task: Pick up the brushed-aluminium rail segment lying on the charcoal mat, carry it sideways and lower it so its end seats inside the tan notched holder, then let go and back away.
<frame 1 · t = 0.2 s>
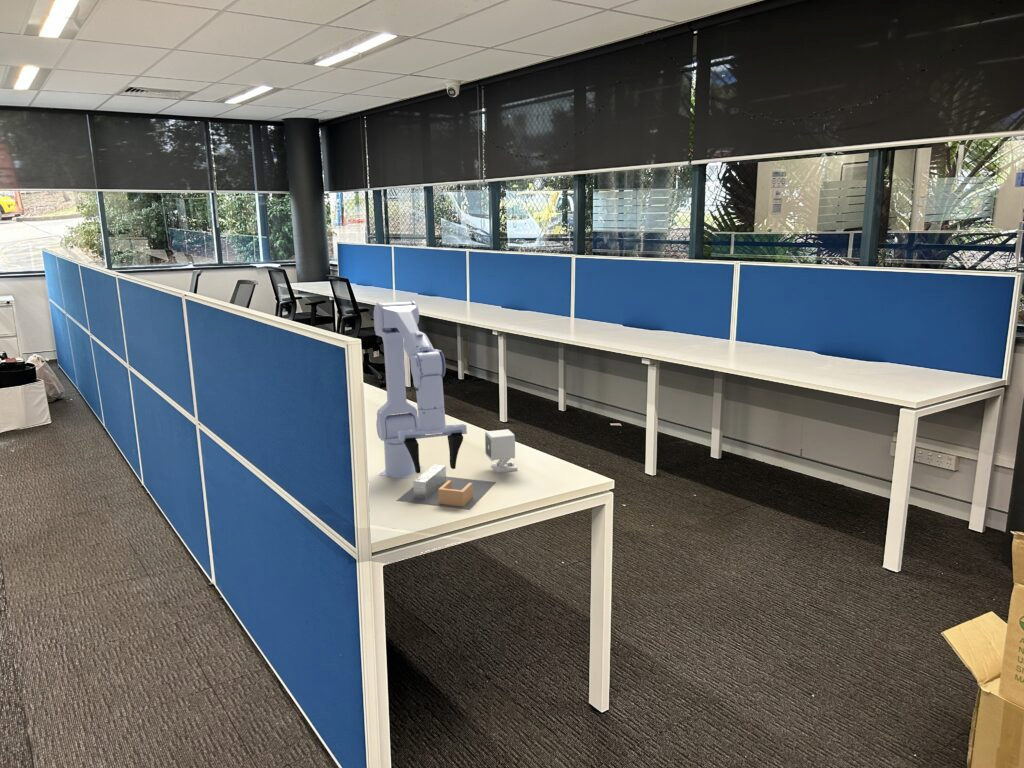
hand: (435, 470, 159), 11 cm above the table, tool pointing down, fingers open, 7 cm apart
tan notched holder: (463, 492, 174), resting on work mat
aluminium rail: (430, 488, 176), resting on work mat
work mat: (448, 493, 175), on the table
security camera: (501, 470, 191), on the table
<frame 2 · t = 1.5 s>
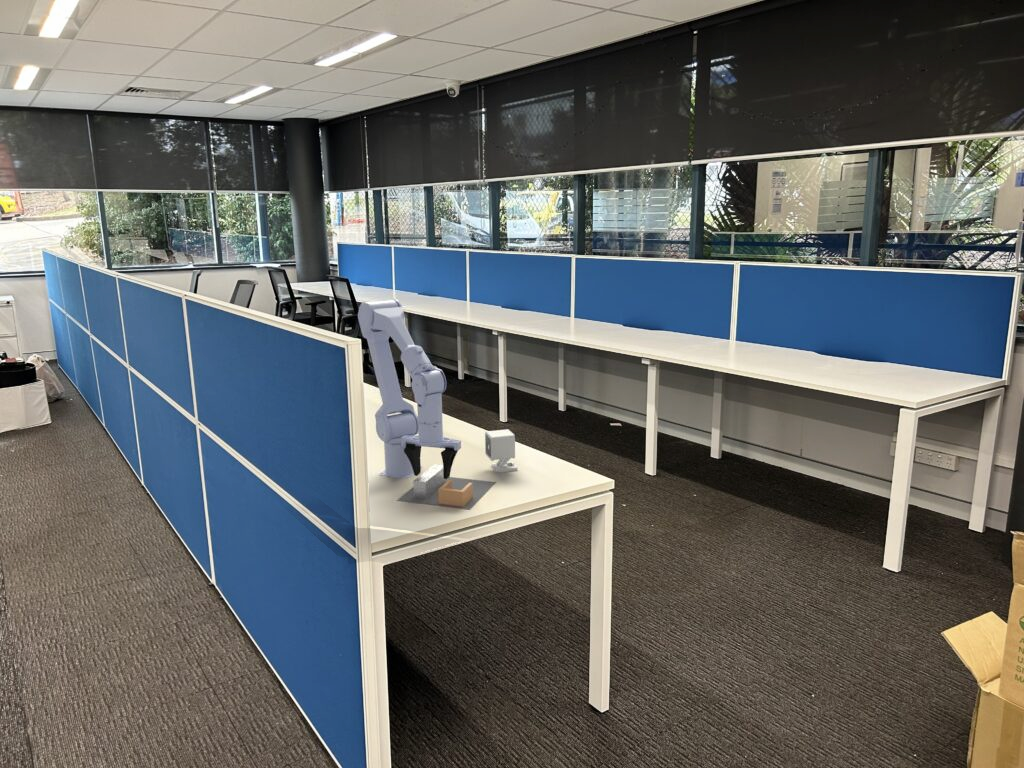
hand: (432, 476, 176), 3 cm above the table, tool pointing down, fingers open, 7 cm apart
nothing on the table moved.
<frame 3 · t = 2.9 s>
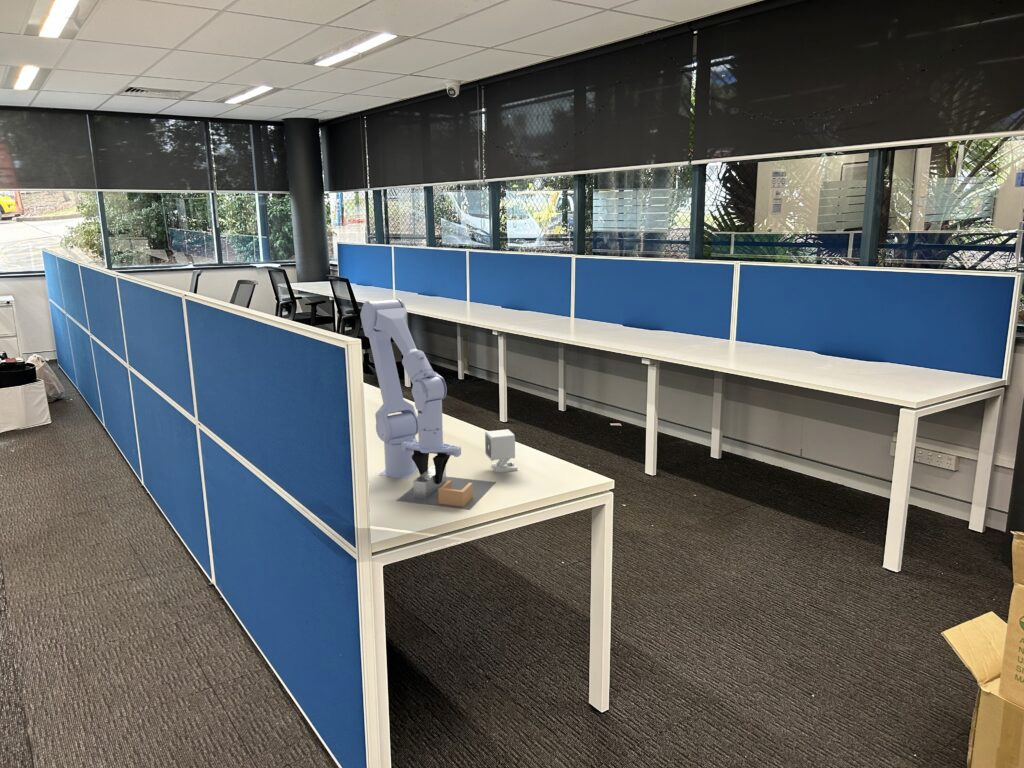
hand: (432, 482, 177), 2 cm above the table, tool pointing down, fingers closed on aluminium rail, 3 cm apart
aluminium rail: (430, 488, 176), resting on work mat, touching gripper
everything else where it was.
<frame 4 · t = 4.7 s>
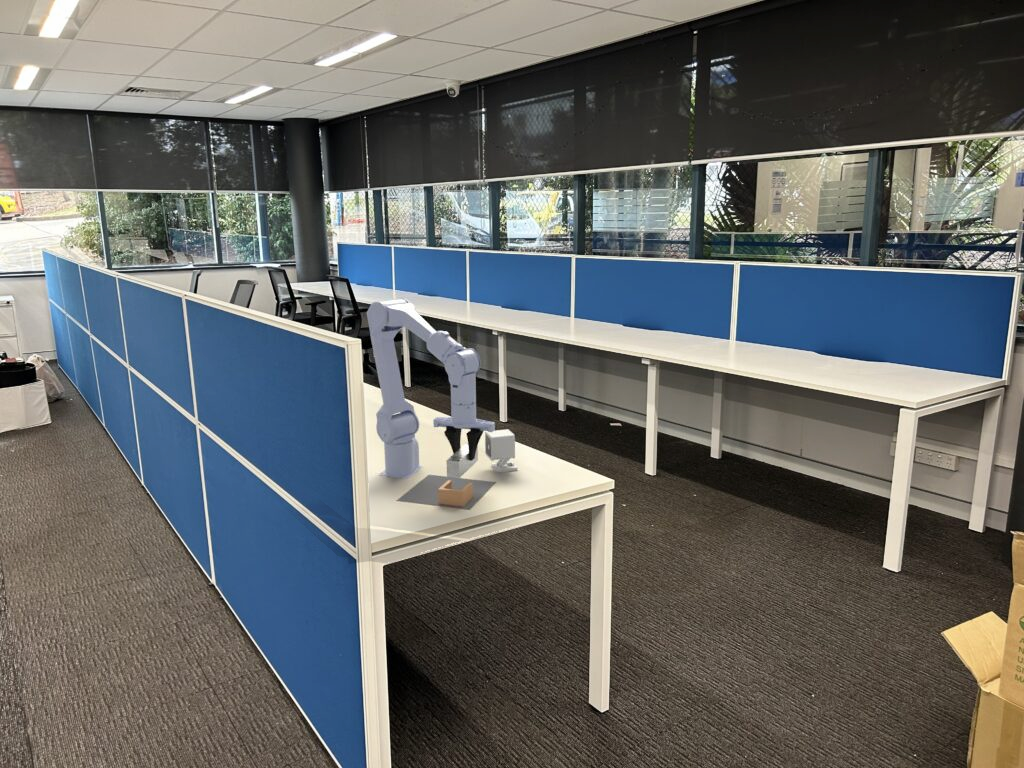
hand: (464, 458, 173), 9 cm above the table, tool pointing down, fingers closed on aluminium rail, 3 cm apart
aluminium rail: (462, 468, 172), point 7 cm above the table, touching gripper
everything else where it was.
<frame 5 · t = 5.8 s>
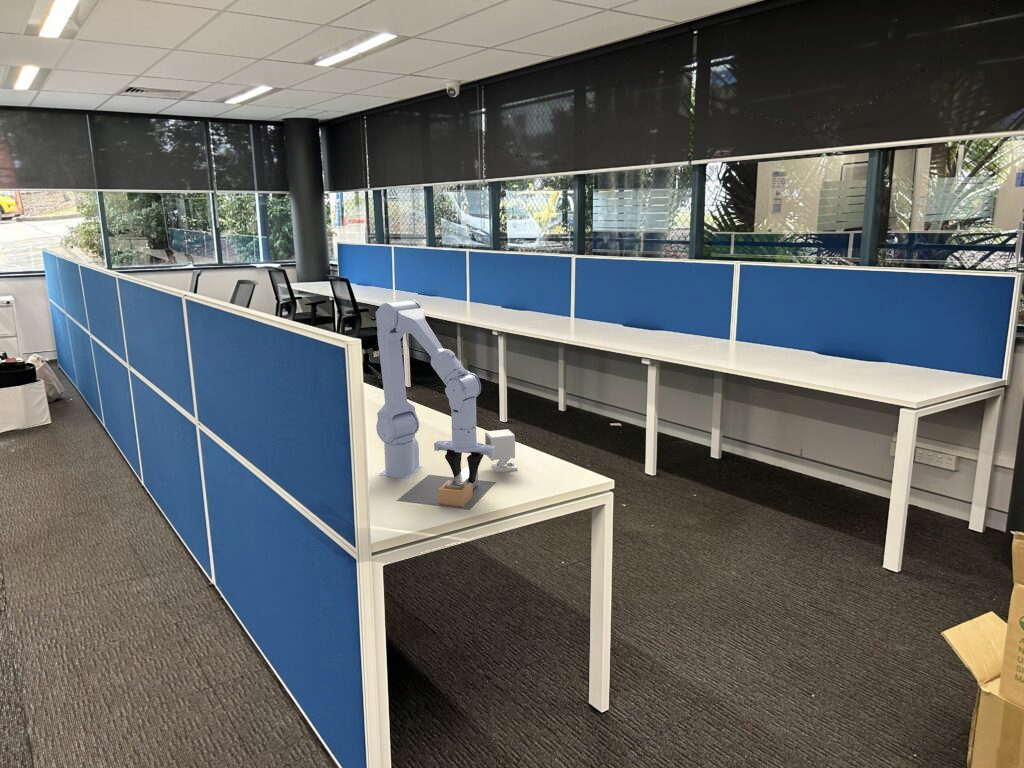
hand: (465, 481, 174), 3 cm above the table, tool pointing down, fingers closed on aluminium rail, 3 cm apart
aluminium rail: (463, 492, 173), point 1 cm above the table, touching gripper
everything else where it was.
when the fingers open (3 cm above the table, at t = 6.7 s): aluminium rail stays where it is, resting on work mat.
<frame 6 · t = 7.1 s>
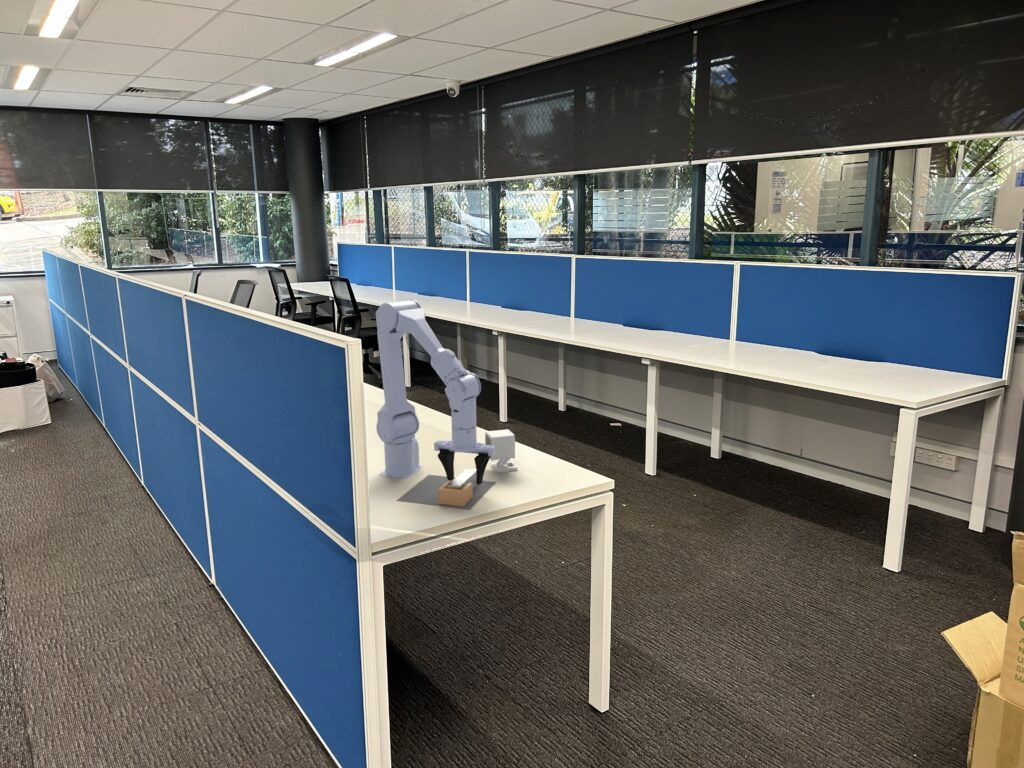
hand: (465, 481, 174), 3 cm above the table, tool pointing down, fingers open, 7 cm apart
aluminium rail: (463, 493, 174), resting on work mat
everything else where it was.
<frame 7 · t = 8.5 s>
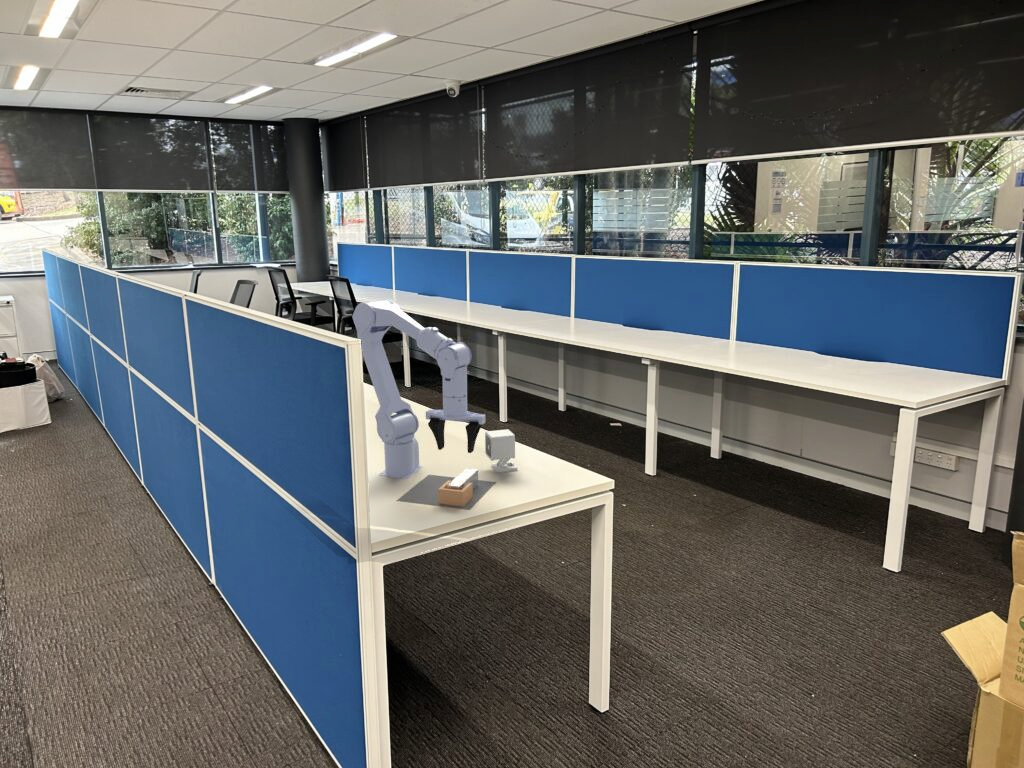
hand: (455, 450, 177), 9 cm above the table, tool pointing down, fingers open, 7 cm apart
nothing on the table moved.
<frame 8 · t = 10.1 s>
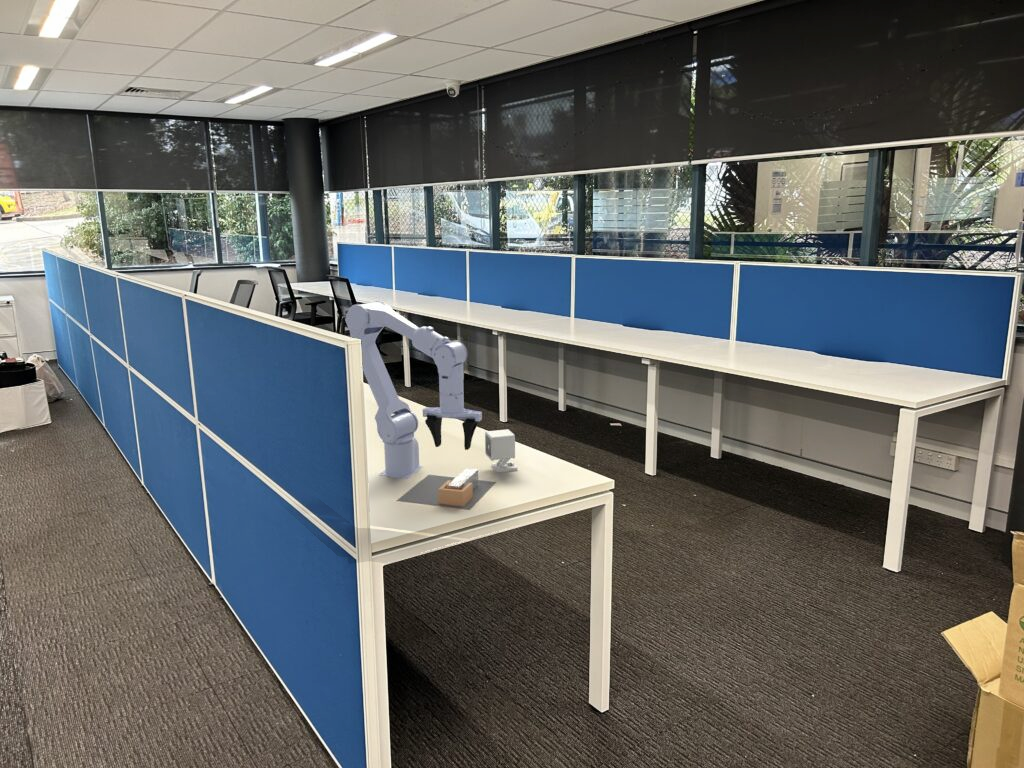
hand: (452, 447, 179), 9 cm above the table, tool pointing down, fingers open, 7 cm apart
nothing on the table moved.
at the end: aluminium rail 0.9 cm off-centre on the tan notched holder, point 0.0 cm above the tan notched holder's base; aluminium rail tilted 0°; the gripper is holding nothing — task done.
